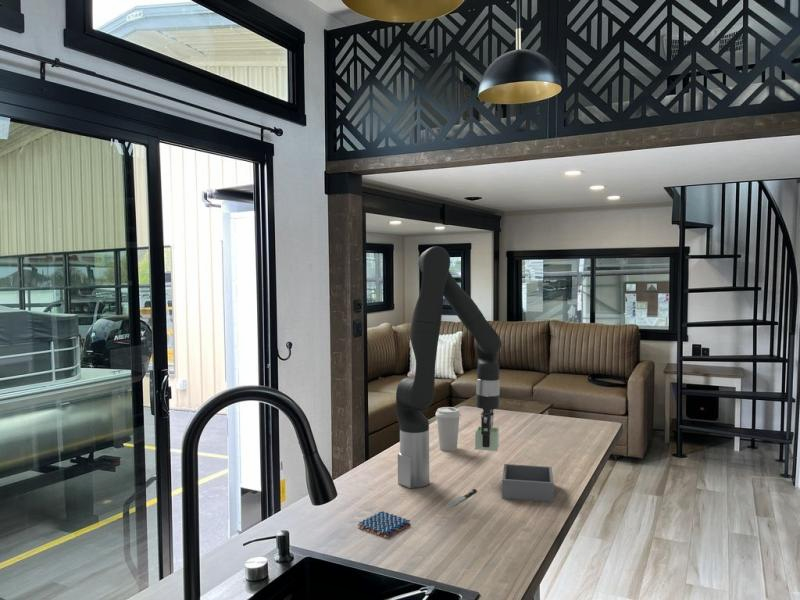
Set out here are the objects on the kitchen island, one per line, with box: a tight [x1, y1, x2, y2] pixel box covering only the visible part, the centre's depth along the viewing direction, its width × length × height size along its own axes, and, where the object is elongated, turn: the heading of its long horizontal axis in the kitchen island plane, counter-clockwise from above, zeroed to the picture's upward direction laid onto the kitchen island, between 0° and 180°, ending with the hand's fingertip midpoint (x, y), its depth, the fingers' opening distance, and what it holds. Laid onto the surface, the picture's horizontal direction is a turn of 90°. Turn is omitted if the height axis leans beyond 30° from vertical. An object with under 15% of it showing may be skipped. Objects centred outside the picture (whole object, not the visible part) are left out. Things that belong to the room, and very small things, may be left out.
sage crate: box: [474, 426, 500, 452], centre depth 188 cm, size 6×7×6 cm
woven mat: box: [357, 510, 411, 539], centre depth 152 cm, size 10×11×2 cm
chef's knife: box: [444, 488, 478, 511], centre depth 169 cm, size 19×1×3 cm
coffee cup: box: [435, 406, 462, 452], centre depth 218 cm, size 10×10×15 cm
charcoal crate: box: [501, 463, 554, 503], centre depth 176 cm, size 15×15×6 cm
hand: (486, 443), depth 188 cm, fingers closed on sage crate, 6 cm apart
